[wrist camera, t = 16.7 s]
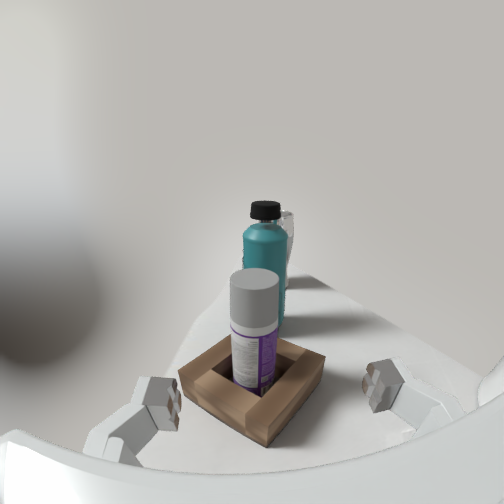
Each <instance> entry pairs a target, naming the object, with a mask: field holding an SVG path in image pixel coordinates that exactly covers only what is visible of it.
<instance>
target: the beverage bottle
mask: <svg viewBox="0 0 504 504" xmlns="http://www.w3.org/2000/svg"><path fill="white" fill-rule="evenodd" d="M250 217H251V218H252V219H256V220H264V221H270V220H278V219H280V218H281V208H280V203H278V202H275V201H255V202H252V204H251V213H250ZM287 239H288V234H287V232H286V231H285V230H284V229H283V228H282V227H281V226H279V225H277V224H273V223H257V224H253V225H251V226H250V227H249V228H248V229H247V230H246V231H245V232H244V233H243V246H244V249H243V250H244V255H243V258H242V263H243V262H244V263H243V264H244V269H248V268H261V269H267V270H270V271H272V272H274V273H276V274H277V275H278V277H279V306H278V327H279V326H280V325H281V323H282V321H283V318H284V313H285V312H284V308H285V307H284V306H285V305H284V303H285V302H284V301H285V296H286V295H285V294H286V293H285V277H286V259H287ZM242 269H243V266H242Z"/></svg>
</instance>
